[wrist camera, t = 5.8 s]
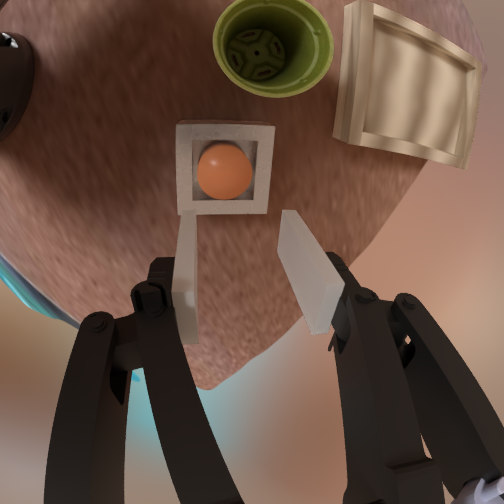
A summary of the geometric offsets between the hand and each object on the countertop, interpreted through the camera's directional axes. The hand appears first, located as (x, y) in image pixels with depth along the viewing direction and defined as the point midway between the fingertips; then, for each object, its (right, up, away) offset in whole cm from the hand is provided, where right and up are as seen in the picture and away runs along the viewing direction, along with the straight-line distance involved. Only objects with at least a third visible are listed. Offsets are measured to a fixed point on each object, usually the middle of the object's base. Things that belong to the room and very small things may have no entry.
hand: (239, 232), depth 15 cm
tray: (+21, +20, +11) cm, 31 cm away
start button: (-2, +7, +12) cm, 14 cm away
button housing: (-3, +9, +14) cm, 17 cm away
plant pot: (+1, +19, +8) cm, 21 cm away
